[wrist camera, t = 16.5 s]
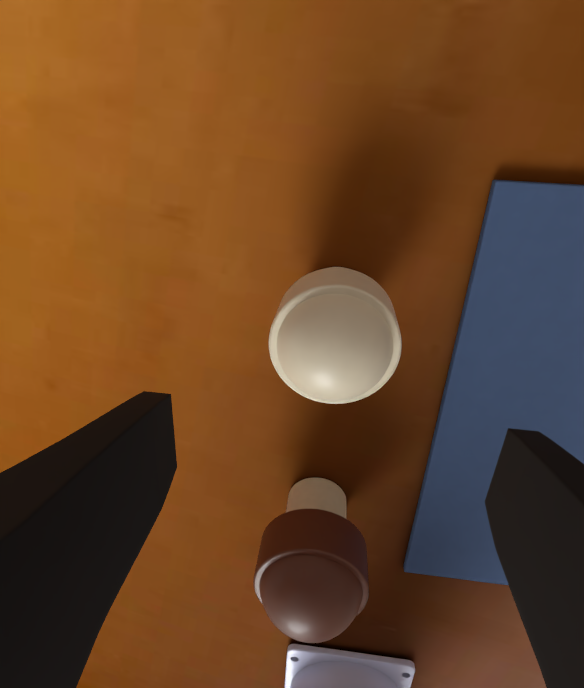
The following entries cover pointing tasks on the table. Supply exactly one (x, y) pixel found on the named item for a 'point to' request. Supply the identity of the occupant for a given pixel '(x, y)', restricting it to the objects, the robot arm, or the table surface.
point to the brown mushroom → (312, 564)
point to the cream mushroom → (335, 336)
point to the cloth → (505, 370)
